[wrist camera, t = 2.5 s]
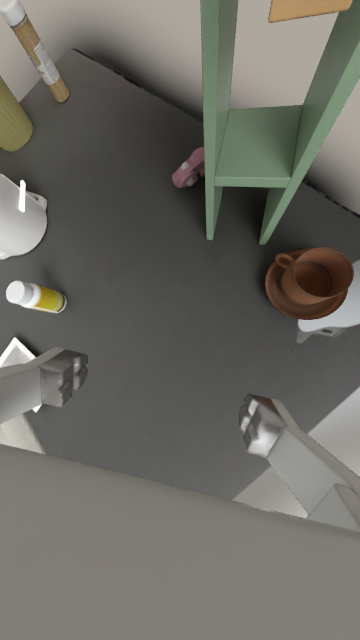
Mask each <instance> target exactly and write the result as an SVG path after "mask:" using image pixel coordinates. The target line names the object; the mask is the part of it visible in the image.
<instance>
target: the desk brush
mask: <svg viewBox="0 0 360 640" xmlns="http://www.w3.org/2000/svg"><path fill="white" fill-rule="evenodd" d="M352 1H353V0H272V2H271V7H270V12H269V19H268V21H269V23H273V22H279V21H285V20H291V19H298V18H304V17H310V16H316V15H323V14H329V13H335V12H342V11H346V10H348V9H349V7H350V6H351V3H352Z"/></svg>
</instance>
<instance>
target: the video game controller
mask: <svg viewBox="0 0 360 640" xmlns="http://www.w3.org/2000/svg"><path fill="white" fill-rule="evenodd" d="M198 172H199V173H200V175H201V177H202V178H203V177H205V157H204V147H200V148H198V149H196V150H195V151H194V152H193V153H192V155H191V156H190V157H189V158H188V159H187V160H186V161H185V162H184V163H183V164H182V165H181V166H180V167H179V168H178V170H177V171H176V172H174V173H173V174H172V180H173V183H174V185H175V186H176V187H178V188H181V187H185V186H189V187H190V186H192V185H193V184H195V183H196V181H197V180H198V177H197V173H198Z"/></svg>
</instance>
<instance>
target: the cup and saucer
mask: <svg viewBox="0 0 360 640" xmlns="http://www.w3.org/2000/svg"><path fill="white" fill-rule="evenodd" d="M353 275H354V270H353V266H352V264H351V262H350V260H349V259H348V258H347V257H346V256H345V255H344V254H343V253H341V252H340V251H338V250H335V249H332V248H328V247H317V248H313V249H296V250H292V251H289V252H287V253H280V254H278V255H276V257H275V261H274V262H273V263H272V264H271V266H270V267H269V269H268V271H267V274H266V278H265V290H266V294H267V296H268V298H269V300H270V302H271V303H272V304H273V306H274V307H275V308H276V309H278V310H279V311H280V312H282V313H283V314H285V315H287V316H290V317H292V318H296V319H303V320H313V319H319V318H322V317H325V316H328V315H330V314H331V313H333V312H334V311H336V310H337V309H338V308H339V307H340V306H341V305H342V303H343V302H344V300H345V298H346V295H347V292H348V287H349V286H350V285H351V283H352V280H353Z"/></svg>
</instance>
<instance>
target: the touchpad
mask: <svg viewBox="0 0 360 640" xmlns="http://www.w3.org/2000/svg"><path fill="white" fill-rule="evenodd" d="M34 358H36V357H35V356H34V355H33V354H32V353H31V352H30V351H29V350H28V349H27V348H26V347H25V346H24V345H23V344H22V343H21V342H20V341H18V340H17V339H16V338H15V337H14V339H13V340H12V341H11V343H10V344H9V346H8V347H7V349H6V350H5V351H4V353H3V354H2V356H1V357H0V368H1V367H6V366H10V365H15V364H20V363H23V364H25V363H27V362H29V361H31V360H33V359H34ZM41 405H42V404H41ZM41 405H39V406H37V407H35V408H33V410H34V411H35V412H37V411H38V409H39V408H40V406H41Z"/></svg>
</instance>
